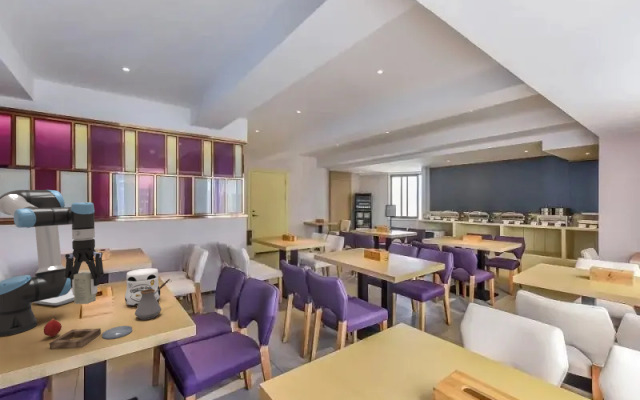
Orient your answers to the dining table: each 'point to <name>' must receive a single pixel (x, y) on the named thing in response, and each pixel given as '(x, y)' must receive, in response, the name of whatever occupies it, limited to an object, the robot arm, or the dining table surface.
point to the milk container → (140, 284)
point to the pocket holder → (78, 343)
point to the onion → (52, 328)
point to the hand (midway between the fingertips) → (85, 293)
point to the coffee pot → (148, 304)
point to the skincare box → (83, 288)
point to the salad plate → (58, 299)
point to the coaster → (117, 332)
